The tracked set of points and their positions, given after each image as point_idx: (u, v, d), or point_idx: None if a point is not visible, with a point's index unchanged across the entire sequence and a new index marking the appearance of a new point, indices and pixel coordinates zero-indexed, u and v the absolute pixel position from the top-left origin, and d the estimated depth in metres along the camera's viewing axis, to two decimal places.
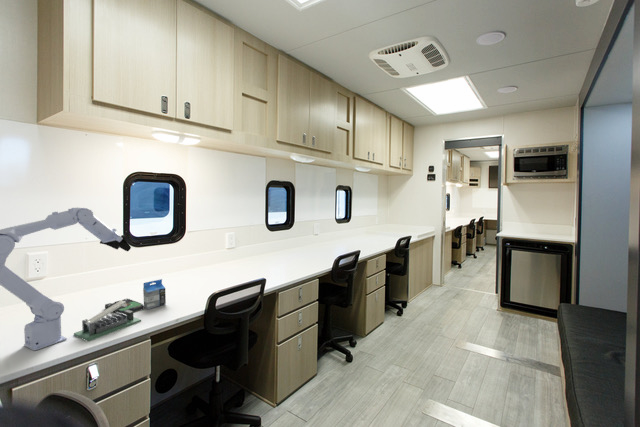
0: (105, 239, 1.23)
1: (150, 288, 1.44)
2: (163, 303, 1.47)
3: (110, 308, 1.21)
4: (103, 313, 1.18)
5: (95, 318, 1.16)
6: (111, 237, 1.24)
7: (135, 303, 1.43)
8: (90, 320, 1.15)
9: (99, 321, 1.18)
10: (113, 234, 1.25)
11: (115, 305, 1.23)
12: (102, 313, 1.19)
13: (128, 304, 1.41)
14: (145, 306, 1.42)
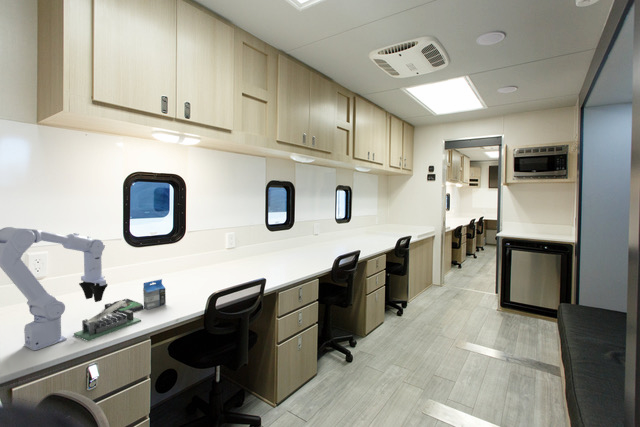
0: (90, 278, 1.20)
1: (150, 288, 1.44)
2: (163, 303, 1.47)
3: (110, 308, 1.21)
4: (103, 313, 1.18)
5: (95, 318, 1.16)
6: (96, 279, 1.21)
7: (135, 303, 1.43)
8: (90, 320, 1.15)
9: (99, 321, 1.18)
10: (99, 278, 1.23)
11: (115, 305, 1.23)
12: (102, 313, 1.19)
13: (128, 304, 1.41)
14: (145, 306, 1.42)
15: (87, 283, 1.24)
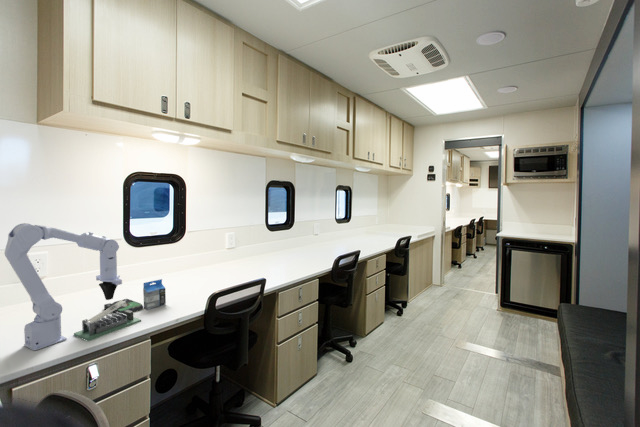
0: (106, 278, 1.21)
1: (150, 288, 1.44)
2: (163, 303, 1.47)
3: (110, 308, 1.21)
4: (103, 313, 1.18)
5: (95, 318, 1.16)
6: (112, 279, 1.22)
7: (134, 303, 1.42)
8: (90, 320, 1.15)
9: (99, 321, 1.18)
10: (115, 278, 1.24)
11: (115, 305, 1.23)
12: (102, 313, 1.19)
13: (127, 304, 1.41)
14: (145, 306, 1.42)
15: None
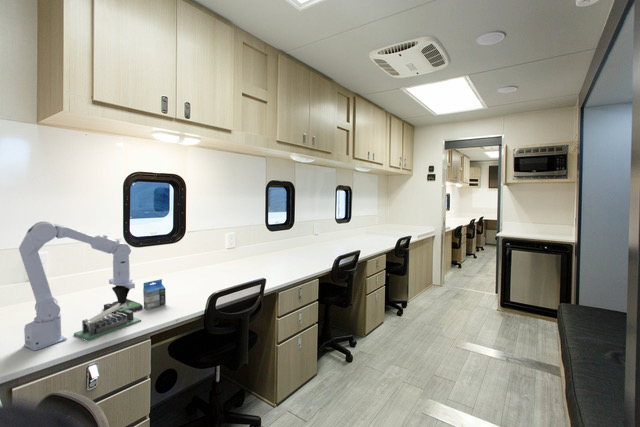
0: (119, 282, 1.22)
1: (150, 288, 1.44)
2: (163, 303, 1.47)
3: (110, 309, 1.21)
4: (103, 313, 1.19)
5: (95, 318, 1.16)
6: (125, 283, 1.23)
7: (134, 303, 1.42)
8: (90, 320, 1.15)
9: (99, 321, 1.18)
10: (128, 281, 1.24)
11: (115, 306, 1.23)
12: (102, 313, 1.19)
13: (127, 304, 1.41)
14: (145, 306, 1.42)
15: None
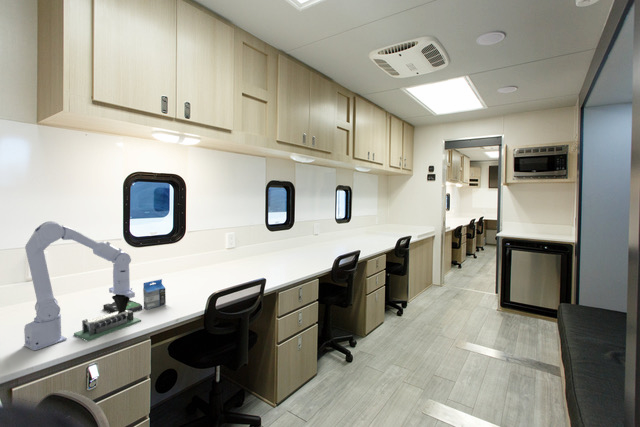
0: (119, 291, 1.22)
1: (150, 288, 1.44)
2: (163, 303, 1.47)
3: (112, 314, 1.22)
4: (104, 317, 1.19)
5: (96, 320, 1.16)
6: (125, 291, 1.23)
7: (134, 303, 1.42)
8: (91, 321, 1.15)
9: None
10: (128, 290, 1.25)
11: (117, 312, 1.24)
12: (103, 317, 1.19)
13: None
14: (145, 306, 1.42)
15: None
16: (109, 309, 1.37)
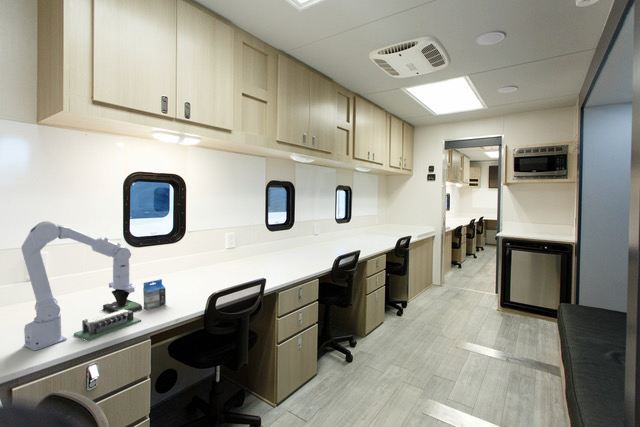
0: (118, 285, 1.22)
1: (150, 288, 1.44)
2: (163, 303, 1.47)
3: (112, 314, 1.22)
4: (104, 317, 1.19)
5: (96, 320, 1.16)
6: (124, 286, 1.23)
7: (133, 303, 1.42)
8: (91, 321, 1.15)
9: None
10: (128, 285, 1.24)
11: (117, 312, 1.24)
12: (103, 317, 1.19)
13: (126, 304, 1.41)
14: (145, 306, 1.42)
15: None
16: (109, 309, 1.37)
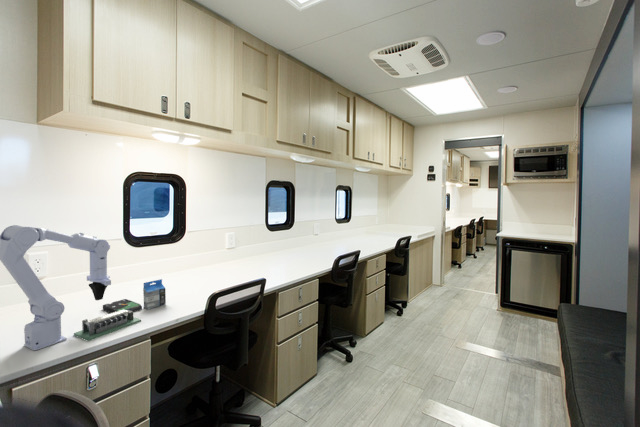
0: (95, 278, 1.21)
1: (150, 288, 1.44)
2: (163, 303, 1.47)
3: (112, 314, 1.22)
4: (104, 317, 1.19)
5: (96, 320, 1.16)
6: (101, 279, 1.22)
7: (133, 303, 1.42)
8: (91, 321, 1.15)
9: None
10: (105, 278, 1.23)
11: (117, 312, 1.24)
12: (103, 317, 1.19)
13: (126, 304, 1.41)
14: (145, 306, 1.42)
15: None
16: (108, 309, 1.37)
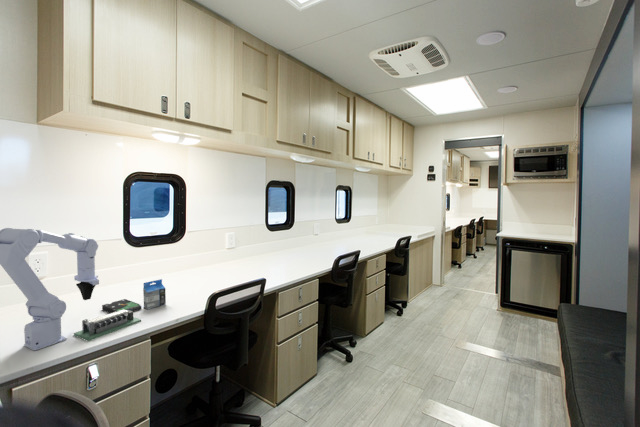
0: (83, 278, 1.21)
1: (150, 288, 1.44)
2: (163, 303, 1.47)
3: (112, 314, 1.22)
4: (104, 317, 1.19)
5: (96, 320, 1.16)
6: (89, 279, 1.22)
7: (132, 303, 1.42)
8: (91, 321, 1.15)
9: None
10: (93, 278, 1.23)
11: (117, 312, 1.24)
12: (103, 317, 1.19)
13: (125, 305, 1.40)
14: (145, 306, 1.42)
15: None
16: (108, 309, 1.37)
